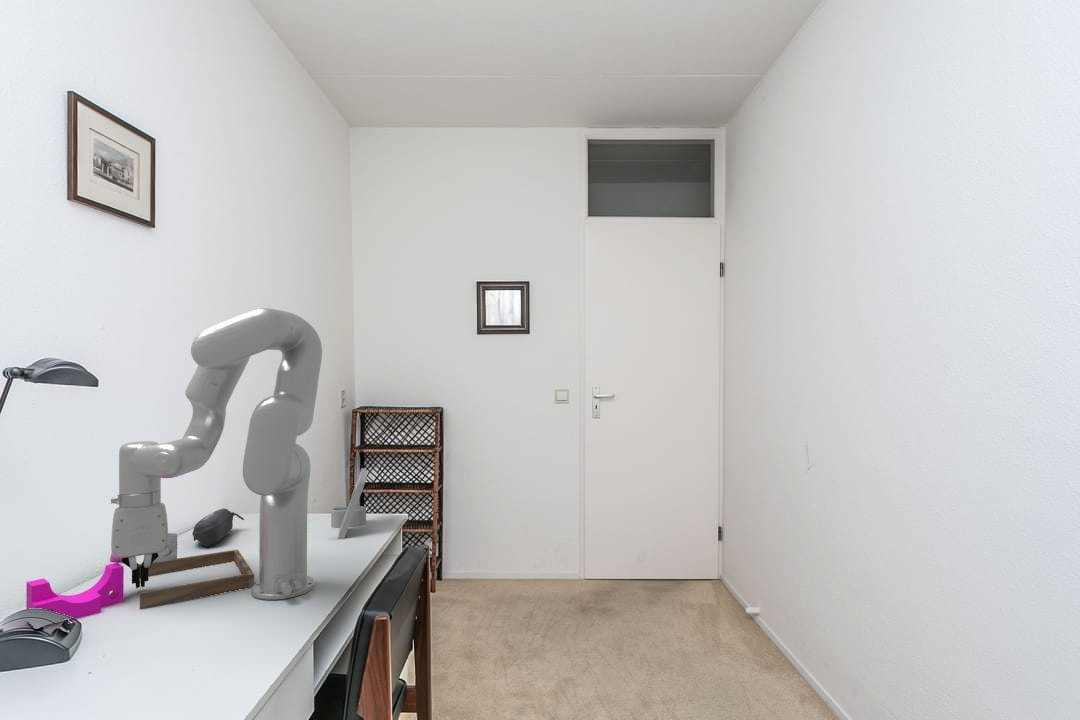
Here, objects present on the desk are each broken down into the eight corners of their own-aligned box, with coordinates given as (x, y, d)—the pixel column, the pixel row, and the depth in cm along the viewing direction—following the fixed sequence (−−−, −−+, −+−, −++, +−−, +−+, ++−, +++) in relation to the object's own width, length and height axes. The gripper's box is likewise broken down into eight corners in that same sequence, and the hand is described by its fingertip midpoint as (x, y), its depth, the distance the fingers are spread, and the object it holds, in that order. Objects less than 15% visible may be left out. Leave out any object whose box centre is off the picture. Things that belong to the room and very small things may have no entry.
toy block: (35, 630, 116) (35, 589, 116) (26, 621, 120) (26, 581, 120) (127, 606, 128) (128, 568, 128) (117, 598, 132) (117, 562, 132)
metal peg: (177, 565, 152) (178, 536, 152) (153, 569, 149) (153, 540, 149) (176, 560, 156) (176, 532, 156) (152, 564, 154) (152, 535, 154)
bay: (254, 588, 137) (254, 574, 137) (139, 609, 125) (139, 593, 126) (237, 561, 155) (237, 549, 156) (136, 577, 144) (136, 564, 144)
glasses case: (206, 534, 181) (206, 506, 181) (245, 531, 183) (245, 505, 183) (184, 552, 163) (185, 522, 163) (228, 550, 165) (229, 520, 166)
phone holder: (331, 528, 186) (331, 468, 186) (366, 526, 189) (367, 466, 189) (327, 545, 170) (327, 478, 170) (366, 542, 172) (366, 476, 172)
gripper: (97, 507, 128) (97, 598, 127) (181, 498, 136) (181, 583, 136) (97, 501, 134) (97, 587, 134) (178, 492, 142) (178, 574, 142)
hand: (140, 585), depth 135 cm, fingers closed
